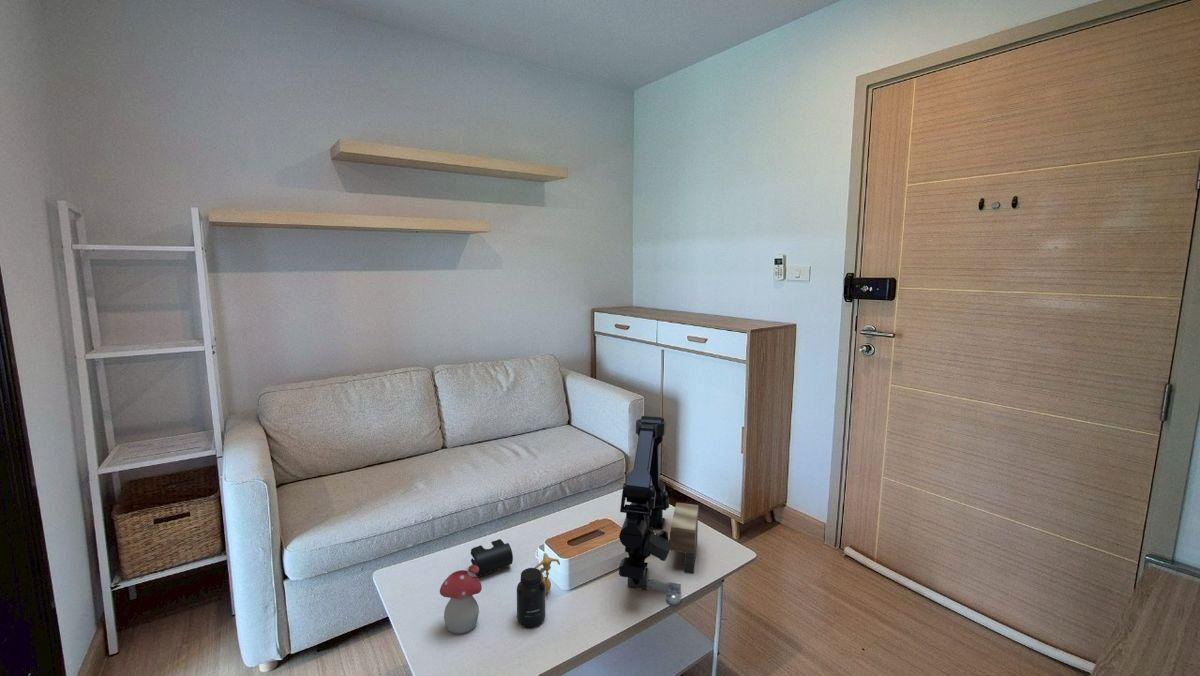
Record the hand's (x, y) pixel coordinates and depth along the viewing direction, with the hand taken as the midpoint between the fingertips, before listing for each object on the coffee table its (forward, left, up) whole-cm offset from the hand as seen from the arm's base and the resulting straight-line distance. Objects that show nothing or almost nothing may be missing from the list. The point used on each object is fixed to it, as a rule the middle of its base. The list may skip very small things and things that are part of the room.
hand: (637, 581), depth 132 cm
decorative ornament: (+24, -37, -2) cm, 45 cm away
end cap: (+3, -40, -2) cm, 41 cm away
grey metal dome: (+3, +10, -2) cm, 10 cm away
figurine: (+9, -22, -2) cm, 24 cm away
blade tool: (0, +4, -1) cm, 5 cm away
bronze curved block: (-16, +11, -2) cm, 19 cm away
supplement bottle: (+18, -22, -2) cm, 29 cm away
